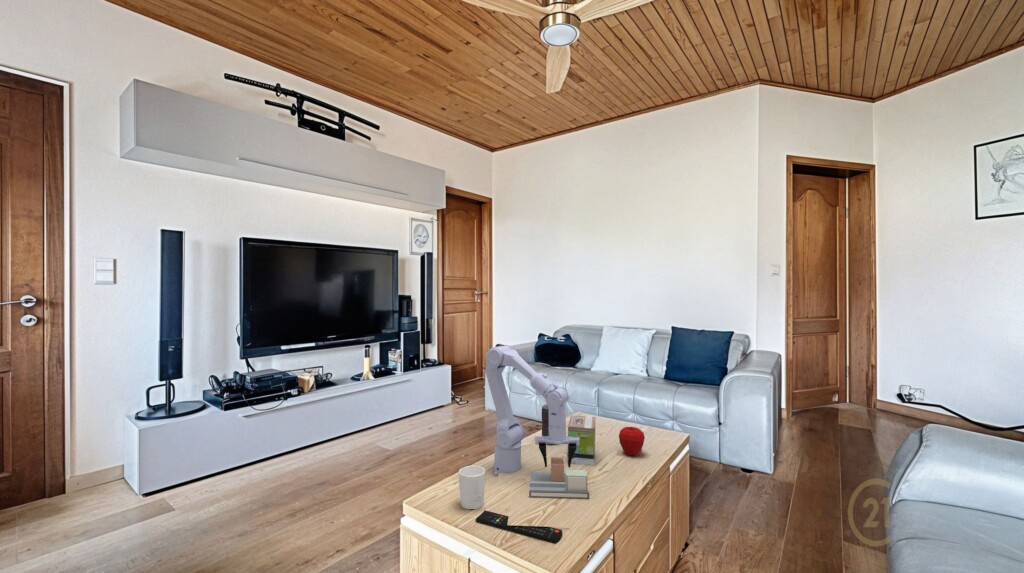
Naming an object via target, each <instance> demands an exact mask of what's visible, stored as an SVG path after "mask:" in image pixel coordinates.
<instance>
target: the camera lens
mask: <svg viewBox="0 0 1024 573" xmlns="http://www.w3.org/2000/svg"><path fill="white" fill-rule="evenodd" d="M542 436H549V407H548V405H547V404H544V405H542V406H541V437H542ZM547 445H550V446H555V445H557V444H547Z"/></svg>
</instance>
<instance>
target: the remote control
mask: <svg viewBox="0 0 1024 573" xmlns="http://www.w3.org/2000/svg"><path fill="white" fill-rule="evenodd" d="M509 518H510V517H509V516H508V515H505V514H500V513H497V512H493V511H490V510H486V509H485V510H483V511H482V513H481V514H479V515H478V516H477V517H476V518H475V522H476V521H477V522H476V523H479V522H480V523H479V524H482V525H483V524H484V525H486V526H491V527H495V528H497V529H502V530H505V531H508V532H513V533H516V534H520V535H524V536H527V537H531V538H534V539H538V540H542V541H545V542H550V543H553V544H557V543H558V542H560V541H561V540H562V538H563V529H559V528H555V527H552V526H538V525H515V524H514V525H510V524H508V523H509Z"/></svg>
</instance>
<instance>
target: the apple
mask: <svg viewBox="0 0 1024 573" xmlns="http://www.w3.org/2000/svg"><path fill="white" fill-rule="evenodd" d="M645 437H646V436H645V434H644V432H643V431H642V429H640V428H638V427H636V426H624V427H623V428H621V429H620V430H619V434H618V439H619V444H620V446H621V449H622V451H623V452H624V453H625V454H626V455H628V456H629V455H631V456H632V457H633V456H636V455H639V454H640V453H641V451H642V449H643V447H644V442H645ZM631 456H630V457H631Z"/></svg>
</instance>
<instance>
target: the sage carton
mask: <svg viewBox="0 0 1024 573" xmlns="http://www.w3.org/2000/svg"><path fill="white" fill-rule="evenodd" d="M564 473H565V490H566V491H584V492H588V473H587V470H584V469H583V470H580V469H579V470H577V469H574V470H573V469H564Z"/></svg>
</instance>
